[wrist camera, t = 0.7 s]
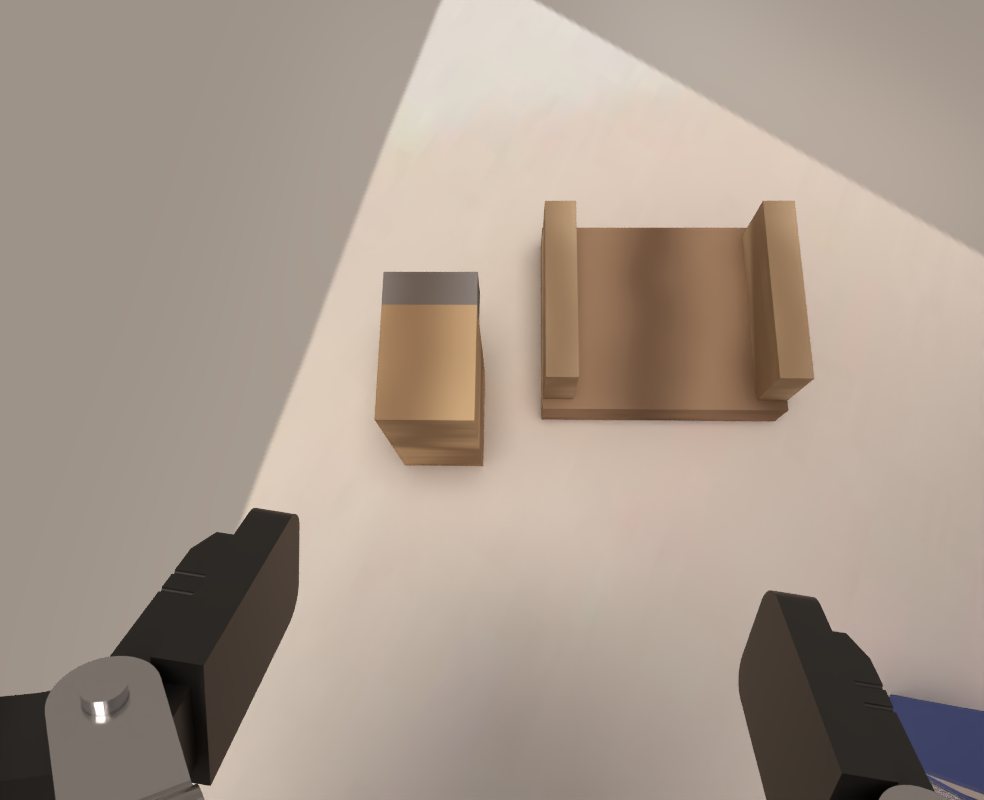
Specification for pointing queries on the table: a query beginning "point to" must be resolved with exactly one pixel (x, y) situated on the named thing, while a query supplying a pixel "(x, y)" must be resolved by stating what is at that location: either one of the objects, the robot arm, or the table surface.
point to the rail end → (431, 368)
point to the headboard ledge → (672, 319)
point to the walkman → (946, 744)
